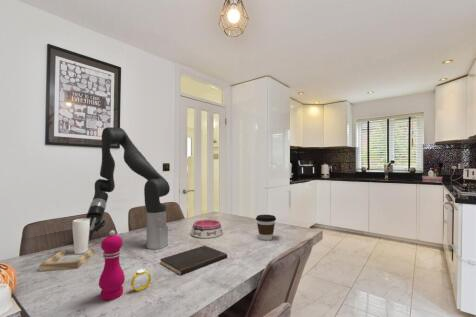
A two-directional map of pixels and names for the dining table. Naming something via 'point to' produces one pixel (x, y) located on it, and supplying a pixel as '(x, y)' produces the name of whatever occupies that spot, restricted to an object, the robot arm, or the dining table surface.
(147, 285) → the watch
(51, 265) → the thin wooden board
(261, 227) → the coffee cup
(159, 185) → the robot arm
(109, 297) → the pepper mill
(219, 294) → the dining table surface
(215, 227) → the dog bowl
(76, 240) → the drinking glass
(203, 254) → the hardcover book
